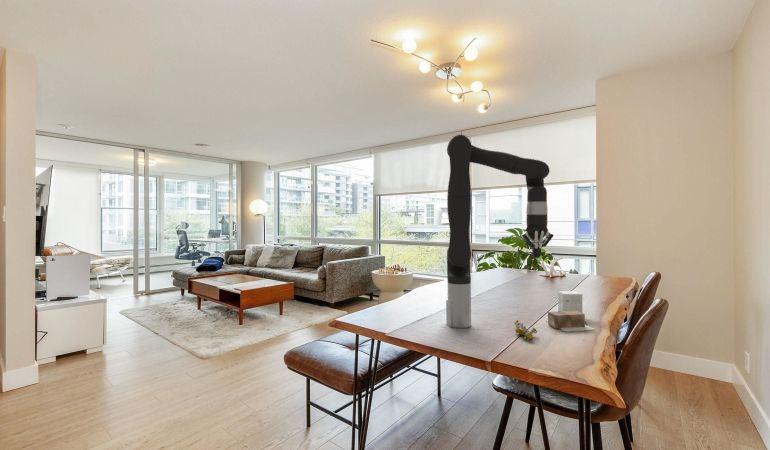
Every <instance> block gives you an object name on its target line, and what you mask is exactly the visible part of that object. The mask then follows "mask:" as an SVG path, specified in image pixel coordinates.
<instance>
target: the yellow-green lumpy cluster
mask: <svg viewBox="0 0 770 450" xmlns="http://www.w3.org/2000/svg"><path fill="white" fill-rule="evenodd" d="M514 326H515V328H514V331H515V333H517V334H518V335H519V336H524V337H523V339H524V340H526V341H527V342H528V341H529V340H530V341H531V340H532V339H533V338H534V336H533V334H538V331H537V329H536V328H535V327H532V328H531V330H528V328H527V327H526V326H525V325H524V323H522V322H521V323H520V322H519V319H516V321H514Z"/></svg>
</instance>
